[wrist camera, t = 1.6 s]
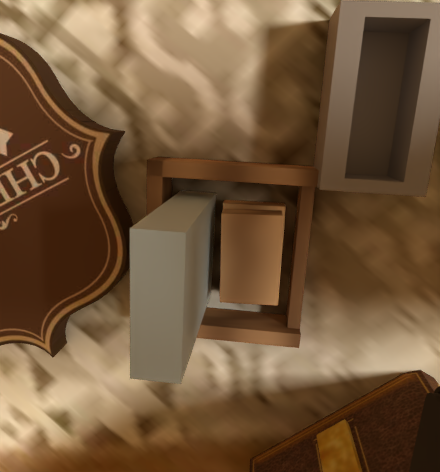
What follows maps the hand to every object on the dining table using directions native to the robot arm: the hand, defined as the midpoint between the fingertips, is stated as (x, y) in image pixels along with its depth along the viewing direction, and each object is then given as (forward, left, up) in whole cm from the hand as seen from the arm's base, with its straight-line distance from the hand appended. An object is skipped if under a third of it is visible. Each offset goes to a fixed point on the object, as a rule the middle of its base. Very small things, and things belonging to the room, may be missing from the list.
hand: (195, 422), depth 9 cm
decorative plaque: (+24, +2, -28) cm, 37 cm away
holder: (-9, -8, -27) cm, 30 cm away
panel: (+4, +4, -27) cm, 28 cm away
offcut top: (-1, +4, -26) cm, 26 cm away
